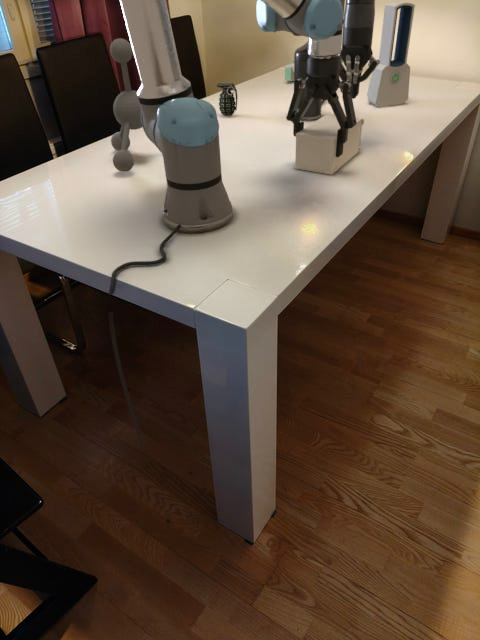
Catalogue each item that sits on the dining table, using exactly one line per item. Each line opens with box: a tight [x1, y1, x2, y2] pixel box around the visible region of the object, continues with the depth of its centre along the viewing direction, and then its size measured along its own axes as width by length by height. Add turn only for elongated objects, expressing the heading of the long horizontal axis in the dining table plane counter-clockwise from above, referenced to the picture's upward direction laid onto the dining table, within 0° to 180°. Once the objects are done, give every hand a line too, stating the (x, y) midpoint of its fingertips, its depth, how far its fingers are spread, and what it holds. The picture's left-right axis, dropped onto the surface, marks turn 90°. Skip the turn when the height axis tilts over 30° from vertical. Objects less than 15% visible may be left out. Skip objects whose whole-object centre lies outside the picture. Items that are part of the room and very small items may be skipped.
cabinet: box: [294, 114, 362, 176], centre depth 128 cm, size 18×10×9 cm, turn 148°
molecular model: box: [109, 37, 143, 173], centre depth 130 cm, size 24×22×30 cm
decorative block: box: [284, 60, 294, 82], centre depth 206 cm, size 26×6×20 cm
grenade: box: [215, 82, 238, 117], centre depth 166 cm, size 7×6×10 cm
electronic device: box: [366, 0, 416, 108], centre depth 163 cm, size 12×8×30 cm, turn 105°
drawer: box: [359, 118, 365, 147], centre depth 132 cm, size 22×9×7 cm, turn 148°
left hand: (318, 152), depth 125 cm, fingers closed on cabinet, 10 cm apart
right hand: (352, 97), depth 133 cm, fingers closed
